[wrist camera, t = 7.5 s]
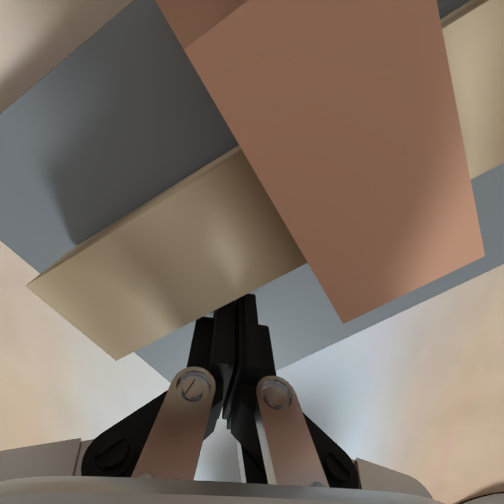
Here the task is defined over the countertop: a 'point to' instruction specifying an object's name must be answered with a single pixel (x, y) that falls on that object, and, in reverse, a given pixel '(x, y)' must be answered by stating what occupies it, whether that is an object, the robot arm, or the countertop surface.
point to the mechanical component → (488, 499)
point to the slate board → (164, 175)
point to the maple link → (240, 219)
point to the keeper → (344, 133)
